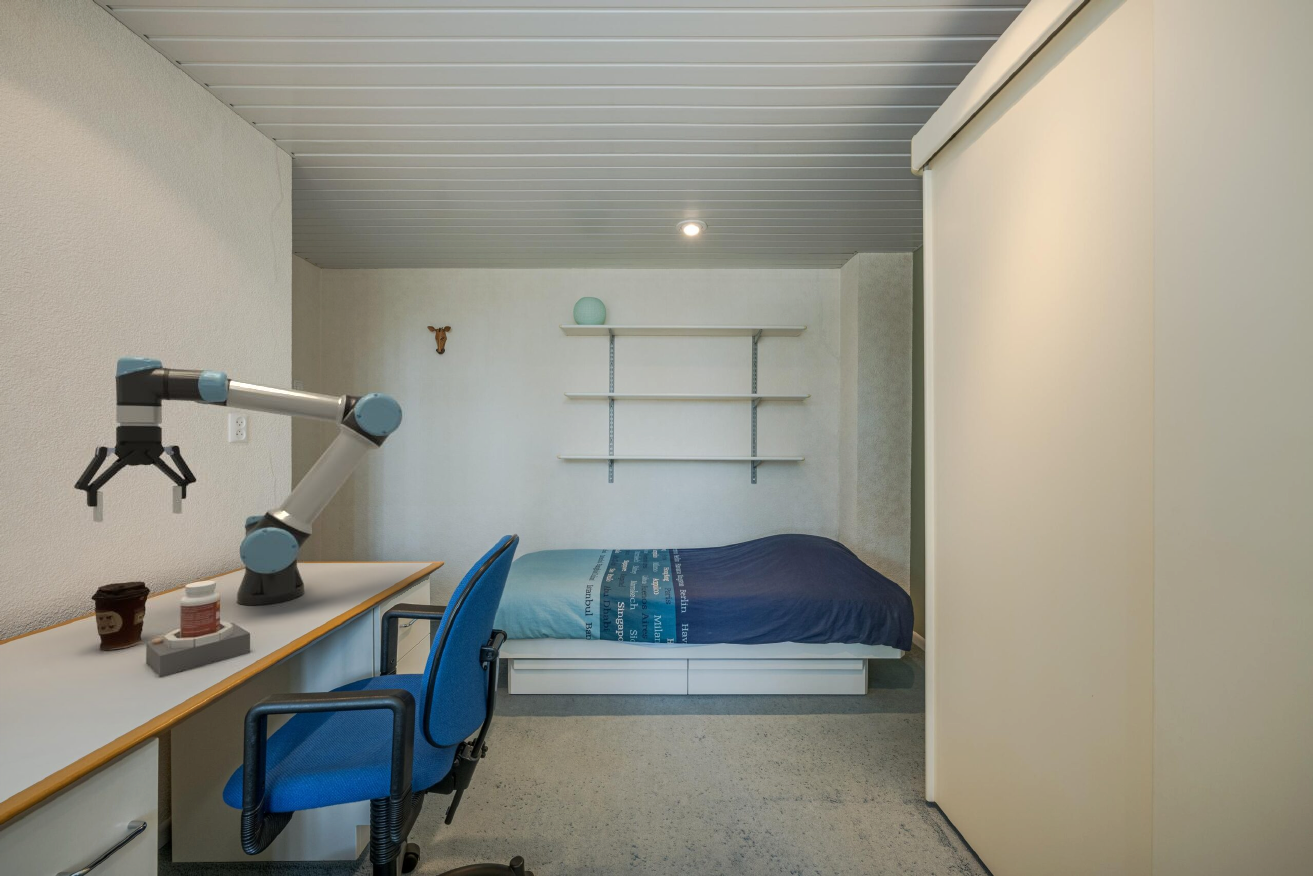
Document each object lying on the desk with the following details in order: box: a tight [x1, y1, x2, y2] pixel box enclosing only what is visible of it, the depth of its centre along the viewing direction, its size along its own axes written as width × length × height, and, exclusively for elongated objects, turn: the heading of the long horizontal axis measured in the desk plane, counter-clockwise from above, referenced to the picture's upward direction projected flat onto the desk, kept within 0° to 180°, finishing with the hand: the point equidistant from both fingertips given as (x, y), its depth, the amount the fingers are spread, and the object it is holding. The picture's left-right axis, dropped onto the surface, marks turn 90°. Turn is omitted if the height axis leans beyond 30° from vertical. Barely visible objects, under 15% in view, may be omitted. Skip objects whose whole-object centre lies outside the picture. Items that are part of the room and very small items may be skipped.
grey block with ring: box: [145, 621, 251, 678], centre depth 107 cm, size 14×10×6 cm
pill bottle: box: [179, 580, 221, 638], centre depth 107 cm, size 6×6×11 cm
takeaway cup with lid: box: [90, 581, 151, 651], centre depth 113 cm, size 9×8×13 cm
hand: (139, 517), depth 121 cm, fingers open, 13 cm apart
